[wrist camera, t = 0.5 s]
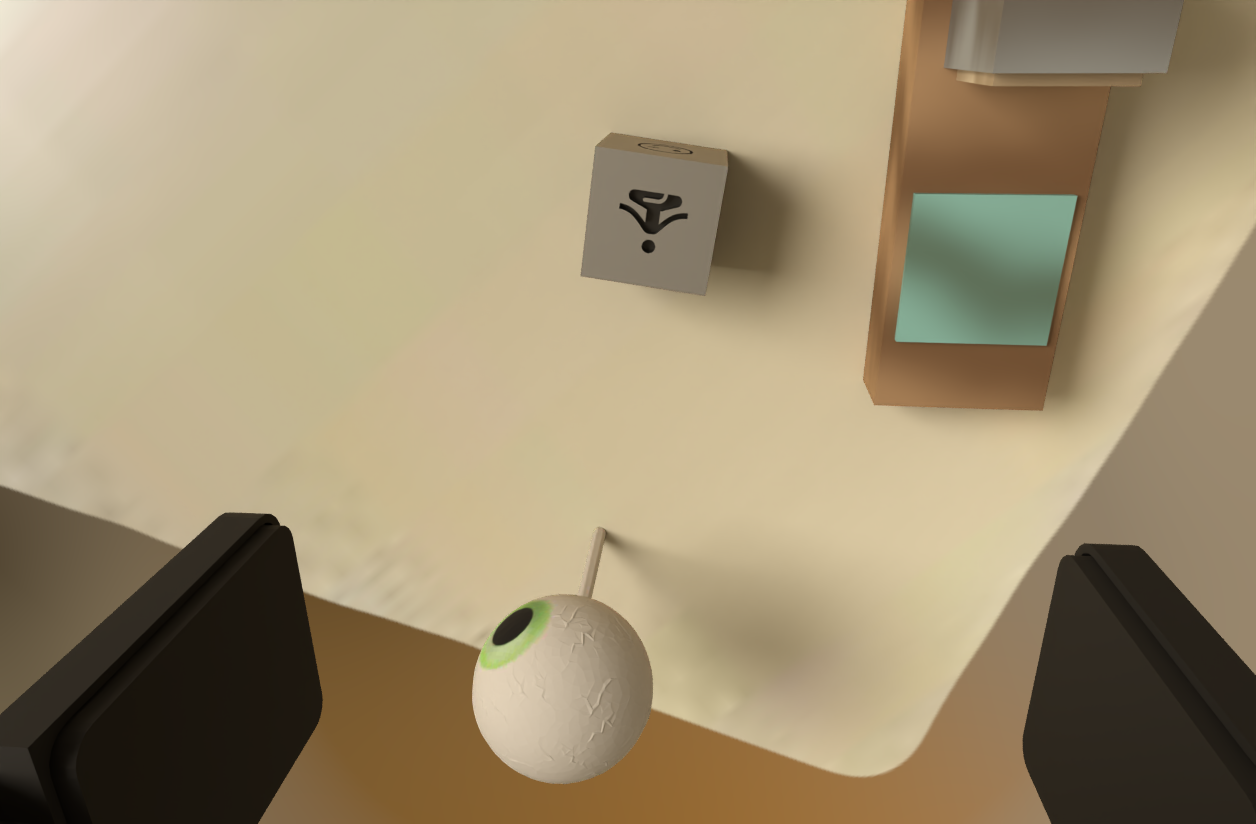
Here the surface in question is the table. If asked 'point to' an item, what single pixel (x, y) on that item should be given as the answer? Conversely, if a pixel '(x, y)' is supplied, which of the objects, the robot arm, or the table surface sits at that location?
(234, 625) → the robot arm
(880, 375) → the wooden block base
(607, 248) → the dice cube
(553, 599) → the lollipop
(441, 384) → the table surface
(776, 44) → the table surface
